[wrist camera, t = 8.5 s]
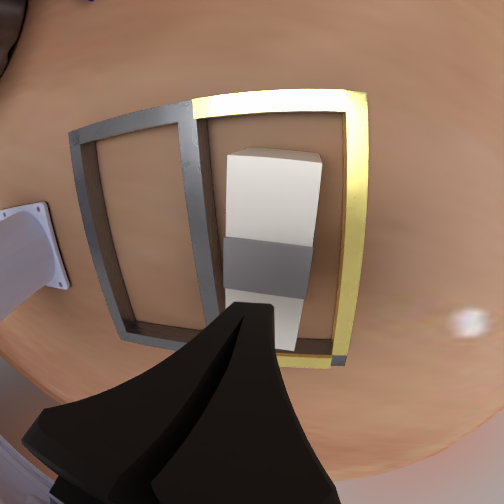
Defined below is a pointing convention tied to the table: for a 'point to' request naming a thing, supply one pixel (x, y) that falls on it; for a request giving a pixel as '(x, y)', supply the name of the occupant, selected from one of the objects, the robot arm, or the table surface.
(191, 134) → the rack
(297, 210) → the white banded pillar
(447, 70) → the table surface
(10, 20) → the plant pot
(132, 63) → the table surface
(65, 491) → the robot arm
